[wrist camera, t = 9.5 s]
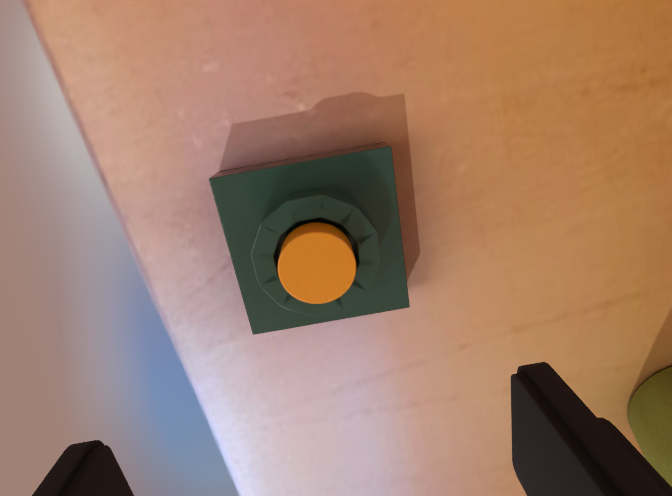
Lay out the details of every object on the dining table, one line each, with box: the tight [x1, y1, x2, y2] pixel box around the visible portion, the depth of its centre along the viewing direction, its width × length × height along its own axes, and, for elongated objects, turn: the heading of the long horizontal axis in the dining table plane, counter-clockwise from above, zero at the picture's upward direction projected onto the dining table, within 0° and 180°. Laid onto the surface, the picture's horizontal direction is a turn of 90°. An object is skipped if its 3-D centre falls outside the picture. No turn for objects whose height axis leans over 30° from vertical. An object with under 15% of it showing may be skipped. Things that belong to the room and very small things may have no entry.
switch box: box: [209, 142, 409, 334], centre depth 23 cm, size 10×10×4 cm
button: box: [278, 222, 356, 304], centre depth 21 cm, size 4×4×2 cm
